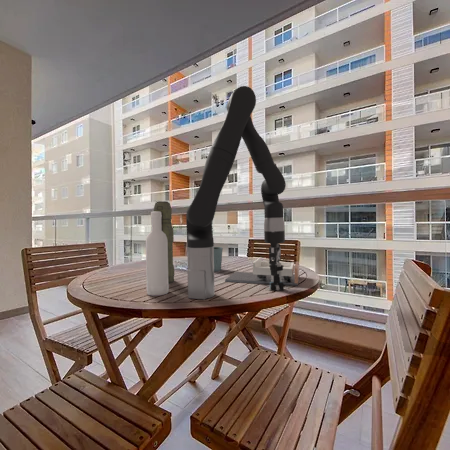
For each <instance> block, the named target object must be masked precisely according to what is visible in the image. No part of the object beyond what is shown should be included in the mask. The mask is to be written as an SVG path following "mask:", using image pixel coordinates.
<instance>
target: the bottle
mask: <svg viewBox="0 0 450 450" xmlns="http://www.w3.org/2000/svg"><path fill="white" fill-rule="evenodd" d="M161 217H162V215H161V212H154V211H150V218H151V219H150V225H151V227H150V228H151V230H150V232H149V233H148V234H147V235H146V238H145V260H146V261H145V267H146V270H145V271H146V272H145V273H146V295H148V296H151V297H152V296H153V297H157V296H159V297H160V296H163V295H166V294H168V293H169V287H170V286H169V284H170V283H168V240H167V237H166V234H165V233H164V232H163V231H162V225H161Z"/></svg>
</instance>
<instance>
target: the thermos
mask: <svg viewBox="0 0 450 450" xmlns="http://www.w3.org/2000/svg"><path fill="white" fill-rule="evenodd" d="M172 211H173V209H172V206H171V203H170V201H167V200H166V201H165V200H163V201H162V200H161V201H159V200H158V201H155V203H154V205H153V212H161V215H162V217H161V225H162V231H163V232H164V233H165V234H166V237H167V240H168V283H169V284H173V283H174V282H175V266H174V249H173V243H174V241H175V239H174V227H173V223H172V218H173V216H172V214H173V213H172Z"/></svg>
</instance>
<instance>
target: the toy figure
mask: <svg viewBox="0 0 450 450" xmlns="http://www.w3.org/2000/svg"><path fill="white" fill-rule="evenodd" d="M279 262H280V261H279ZM279 262H277V263H278V264H277V276H272V280H271V282H270V284H268V287H266V288H265V289H266V290H268V289H269V290H271V291H284V290H285V289H284V286H285V285H284V284H283V283H282V280H281V271H282V270H283V267H284V266H283V265H281V263H279ZM269 267H270V270H271V265H269Z"/></svg>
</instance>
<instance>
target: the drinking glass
mask: <svg viewBox="0 0 450 450" xmlns="http://www.w3.org/2000/svg"><path fill="white" fill-rule="evenodd" d="M223 249H224V248H223V247H220V246H214V273H215V272H221V270H222V262H223Z"/></svg>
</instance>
